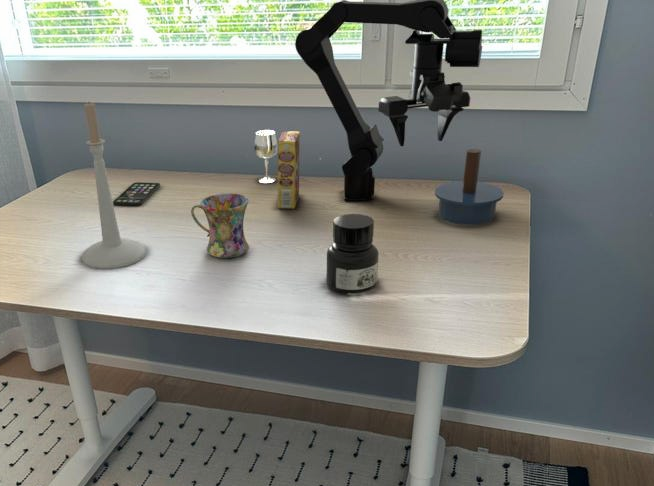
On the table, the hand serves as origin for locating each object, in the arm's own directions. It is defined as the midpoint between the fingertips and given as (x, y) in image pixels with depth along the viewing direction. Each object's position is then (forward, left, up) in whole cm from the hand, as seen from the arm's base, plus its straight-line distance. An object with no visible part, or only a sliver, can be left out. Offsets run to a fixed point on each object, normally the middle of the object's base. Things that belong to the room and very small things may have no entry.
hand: (420, 143), depth 150 cm
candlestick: (-64, -28, -13) cm, 71 cm away
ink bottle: (-17, -43, -13) cm, 48 cm away
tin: (+9, -11, -13) cm, 19 cm away
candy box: (-29, +1, -13) cm, 32 cm away
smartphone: (-67, +9, -13) cm, 69 cm away
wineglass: (-35, +18, -13) cm, 42 cm away
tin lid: (+9, -11, -8) cm, 16 cm away
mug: (-42, -27, -13) cm, 52 cm away
